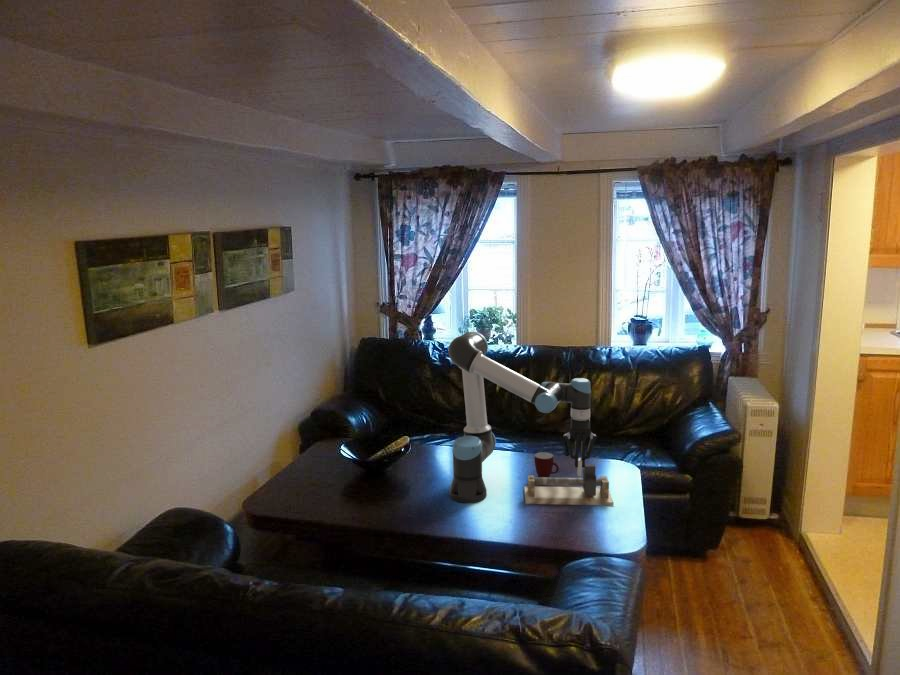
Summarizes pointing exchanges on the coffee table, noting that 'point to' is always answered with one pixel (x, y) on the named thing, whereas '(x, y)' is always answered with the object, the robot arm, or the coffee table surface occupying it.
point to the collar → (589, 480)
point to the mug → (545, 464)
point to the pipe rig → (566, 491)
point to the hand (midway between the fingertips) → (579, 474)
